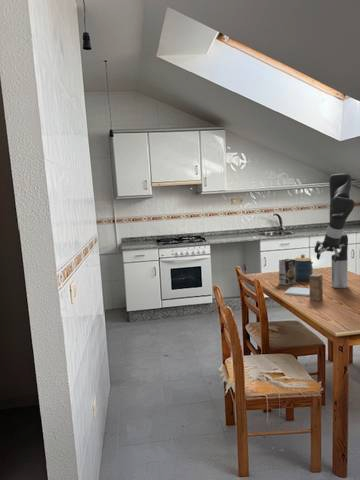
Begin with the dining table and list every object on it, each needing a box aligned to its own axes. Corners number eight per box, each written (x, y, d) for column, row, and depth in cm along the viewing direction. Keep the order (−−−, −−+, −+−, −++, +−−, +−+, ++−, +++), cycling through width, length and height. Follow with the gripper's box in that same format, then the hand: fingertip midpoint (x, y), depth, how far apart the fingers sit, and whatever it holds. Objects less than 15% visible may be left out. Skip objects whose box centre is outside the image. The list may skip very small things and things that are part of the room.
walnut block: (314, 297, 214) (314, 273, 212) (322, 299, 210) (322, 274, 209) (309, 299, 211) (309, 275, 209) (317, 301, 207) (317, 276, 205)
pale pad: (290, 288, 236) (290, 286, 236) (313, 290, 229) (313, 288, 229) (284, 294, 224) (284, 292, 224) (308, 296, 217) (308, 294, 217)
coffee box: (286, 285, 244) (286, 261, 242) (278, 283, 249) (278, 260, 248) (295, 283, 249) (295, 259, 247) (288, 281, 254) (287, 258, 252)
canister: (316, 278, 259) (316, 253, 257) (308, 282, 249) (307, 256, 247) (298, 276, 268) (298, 252, 266) (289, 280, 258) (289, 255, 256)
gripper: (347, 231, 192) (339, 257, 201) (318, 228, 194) (311, 254, 203) (349, 239, 186) (341, 265, 195) (320, 236, 188) (313, 262, 196)
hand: (326, 260), depth 199 cm, fingers open, 8 cm apart
